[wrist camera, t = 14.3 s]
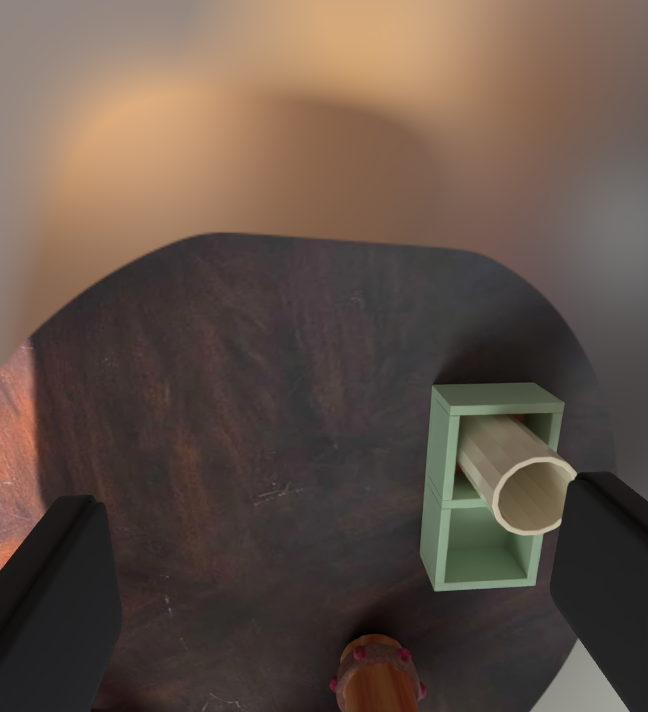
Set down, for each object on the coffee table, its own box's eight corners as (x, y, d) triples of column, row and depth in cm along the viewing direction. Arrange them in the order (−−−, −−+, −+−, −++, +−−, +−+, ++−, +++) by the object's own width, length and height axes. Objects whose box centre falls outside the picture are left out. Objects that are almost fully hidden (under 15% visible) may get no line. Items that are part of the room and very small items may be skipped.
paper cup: (450, 404, 39) (498, 458, 30) (520, 402, 39) (587, 455, 30) (445, 469, 40) (488, 537, 32) (512, 466, 41) (572, 533, 32)
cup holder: (432, 384, 39) (450, 405, 34) (533, 382, 40) (565, 402, 35) (419, 553, 44) (434, 591, 39) (510, 549, 44) (535, 585, 40)
